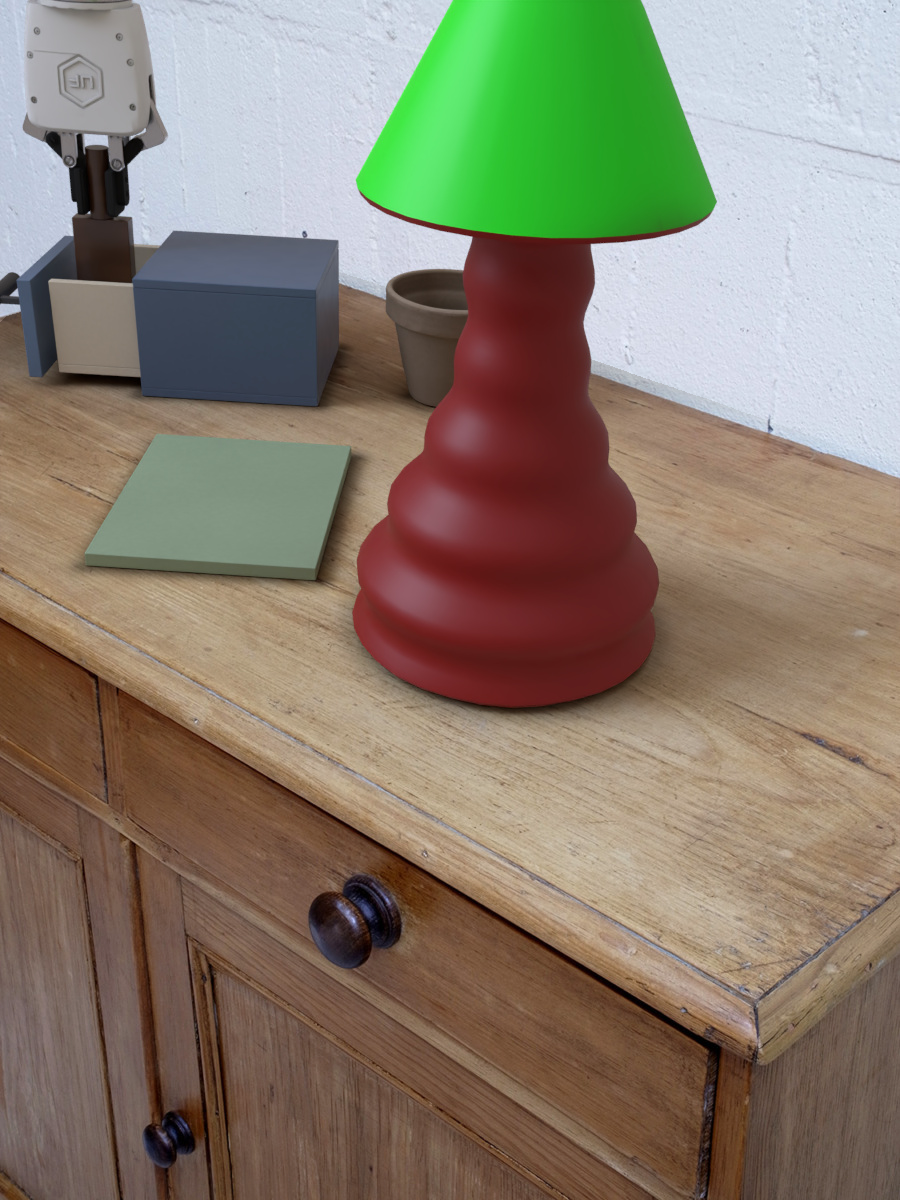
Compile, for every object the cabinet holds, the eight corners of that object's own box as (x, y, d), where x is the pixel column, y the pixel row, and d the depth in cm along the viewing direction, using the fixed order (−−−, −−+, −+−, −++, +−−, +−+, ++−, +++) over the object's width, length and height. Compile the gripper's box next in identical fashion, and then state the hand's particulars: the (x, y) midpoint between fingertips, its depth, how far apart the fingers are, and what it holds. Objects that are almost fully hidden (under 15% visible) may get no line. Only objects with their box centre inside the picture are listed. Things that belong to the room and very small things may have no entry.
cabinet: (142, 396, 116) (131, 278, 111) (180, 338, 129) (173, 230, 123) (317, 406, 116) (316, 289, 110) (339, 347, 128) (338, 239, 123)
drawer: (-24, 373, 117) (-39, 276, 112) (26, 322, 128) (14, 232, 123) (191, 386, 116) (184, 289, 111) (222, 334, 127) (217, 244, 123)
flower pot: (536, 398, 119) (545, 290, 114) (450, 432, 112) (455, 319, 107) (444, 362, 126) (448, 259, 121) (357, 392, 119) (358, 283, 113)
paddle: (78, 305, 120) (64, 147, 112) (85, 298, 121) (71, 142, 114) (133, 310, 120) (122, 151, 112) (138, 302, 121) (128, 146, 114)
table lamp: (421, 528, 97) (445, -176, 74) (684, 587, 92) (800, -157, 68) (299, 665, 81) (280, -176, 58) (607, 747, 76) (725, -151, 52)
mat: (85, 565, 91) (84, 553, 90) (157, 444, 108) (156, 433, 107) (315, 580, 90) (315, 568, 90) (351, 456, 107) (351, 445, 107)
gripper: (-31, -18, 103) (-3, 216, 113) (170, -3, 103) (181, 231, 113) (3, -28, 110) (26, 194, 120) (191, -15, 110) (200, 207, 119)
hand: (101, 210), depth 116 cm, fingers closed on paddle, 2 cm apart
